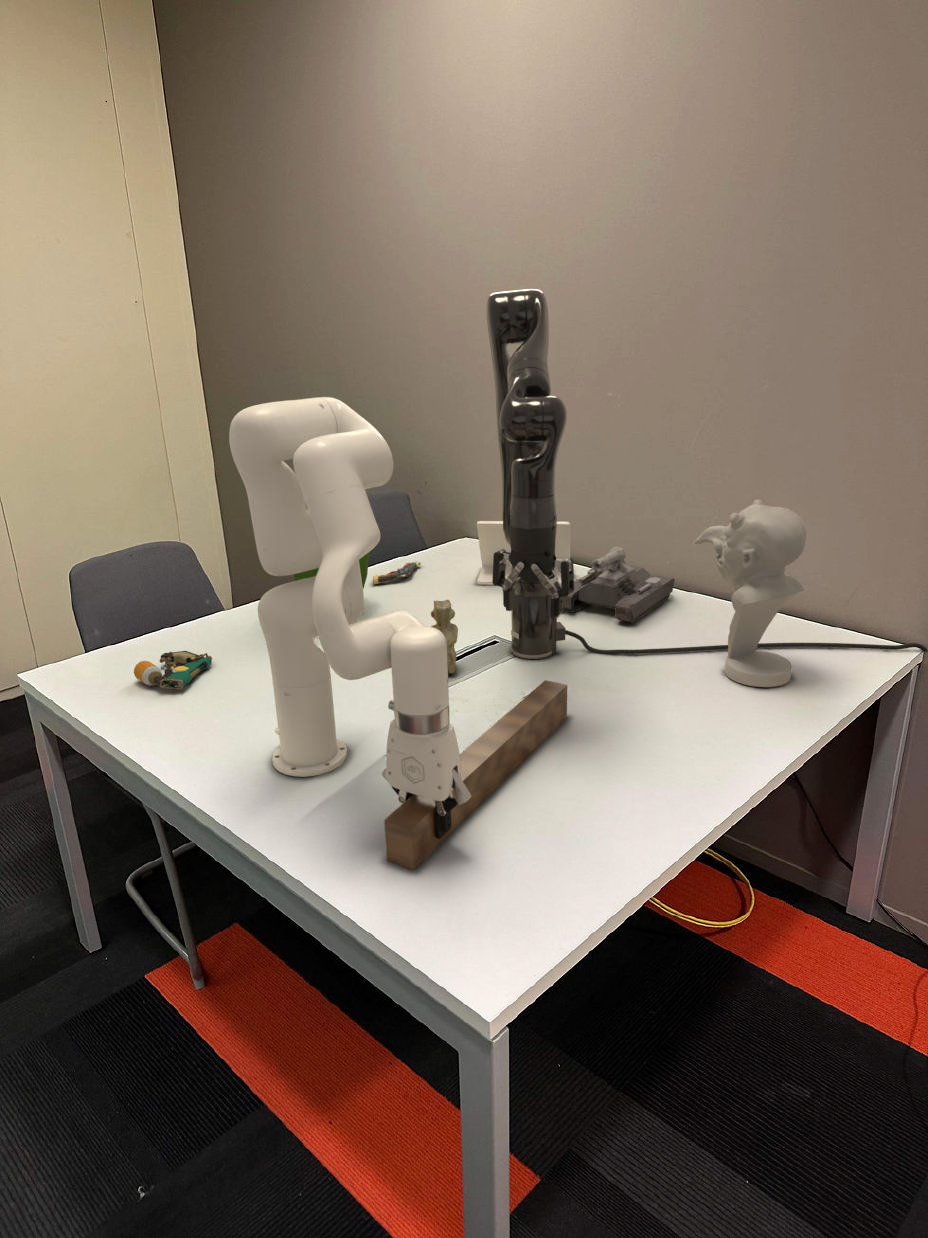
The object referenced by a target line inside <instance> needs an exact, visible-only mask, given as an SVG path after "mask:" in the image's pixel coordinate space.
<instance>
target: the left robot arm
mask: <svg viewBox="0 0 928 1238" xmlns="http://www.w3.org/2000/svg"><path fill="white" fill-rule="evenodd" d="M228 433H229V434H228V437H229V438H228V440H229V448H230V453H231V456H232V459H233V463H234V464H235V467H236V469H237V471H238V474H239V475H240V478H241V481H242V482H243V485H244V487H245V491H246V495H247V500H248V501H247V502H248V506H249V513H250V518H251V523H252V524H251V525H252V530H253V536H254V541H255V546H256V551H257V556H258V560H259V563H260V566H261V568H262V569H263V570H264V571H265V572H266V573H267V574H268V575H269V576H273V577H286V576H293V575H294V574H297V573H301V572H305V571H309V570H313V569H317V568H319V570H318V573H317V575H316V576H314V577H310V578H305V579H301V580H297V581H295V580H293V581H289V582H286V583H283V584H280V585H277V586H275V587H273V588H271V589H268V591H266V592H265V593H264V594H263V595H262V596H261V598H260V600H259V601H258V604H257V616H258V621H259V624H260V627H261V630H262V633H263V637H264V641H265V643H266V648H267V652H268V657H269V664H270V673H271V680H272V687H273V697H274V703H275V704H274V706H275V712H276V721H277V727H276V728H275V730H274V732H275V734H276V735H277V736H278V739H279V746H278V747H277V748H276V749H275V750H274V751H273V753H272V758H271V759H272V764H273V767H274V768H275V770H276V771H278V772H280V773H281V774H284V775H287V776H291V777H297V778H298V777H299V778H303V777H304V778H305V777H306V778H307V777H315V776H320V775H323V774H327V773H330V772H332V771H334V770H336V769H337V768H339V767H340V766H342V764H343V763H344V762H346V759H347V757H348V751H347V750H348V749H347V746H346V744H345V743H344V742H343V741H341V740H340V739H339V738H337V728H336V717H335V709H334V708H335V707H334V706H335V705H334V696H333V695H334V694H333V684H332V675H331V669H332V670H333V672H334V673H335V674H336V675H337V676H339V677H340V678H342V679H344V680H348V681H355V680H360V679H363V678H367V677H369V676H372V675H374V674H377V673H380V672H383V671H386V670H388V669H391V680H392V681H391V682H392V697H393V698H392V699H390V700H389V702H388V705H387V707H388V710H390V711H393V715H394V716H393V718H394V719H393V720H391V721H390V723H389V728H388V734H387V741H386V754H385V755H386V756H385V760H386V761H385V768H384V769H383V770H382V772H381V776H382V777H383V778H384V780H385V781H386V782H387V783H388V784H389V785H390V787H391V788H392V790H393V791H394V792H395V793H396V795H397V800H398V802H399V803H400V804H401V805H402V804H403V803H404V802H405V801H406V800H408V799H409V798H410V797H411V796H412V795H413V794H415V795H418V796H422V797H425V798H428V799H431V800H434V801H435V805H436V808H437V813H436V814H435V815H434V822H435V837H436V838H438V839H441V838H442V837H443V836H444V835H445V834H446V833H447V832H448V831H449V830H450V829H451V826H452V822H451V810H452V809H453V808H454V807H456V806H458V805H460V804H463V803H465V802H467V801H468V800H469V799H470V798H471V794H470V792H469V791H468V789H467V787H466V786H465V784H464V783H463V781H462V779H461V766H460V756H459V755H460V750H459V745H458V744H459V743H458V740H457V734H456V731H455V727H454V724H452V723H450V721H451V720H450V695H449V693H450V691H449V673H448V665H447V643H446V638H445V636H444V634H443V633H442V632H441V631H439V630H438V629H436V628H433V627H431V626H427V625H425V624H424V623H423V622H421V620H419V618H418V617H416V616H415V615H414V614H412V613H411V612H409V611H407V610H402V609H401V610H400V609H399V610H392V611H389V612H385V613H382V614H379V615H375V616H371V617H369V618H365V619H361V618H362V616H363V614H364V610H365V596H364V589H363V586H362V579H361V572H360V564H359V559H361V558H362V557H363V556H364V555H366V554H367V553H368V552H369V553H370V552H371V551H372V550H373V549H375V547H376V546H377V545H378V544H379V543H380V540H381V532H380V528H379V526H378V523H377V521H376V517H375V515H374V511H373V509H372V507H371V503H370V500H369V496H368V494H367V491H366V490H368V489H374V488H379V487H381V486H384V485H386V484H388V482H389V481H390V480H391V478H392V477H393V474H394V465H395V464H394V458H393V454H392V453H393V452H392V450H391V448H390V447H389V444H388V442H387V441H386V440H385V438H384V437H383V435H382V434H381V433H380V431H379V430H378V429H377V428H376V427H374V425H372V424H371V423H370V422H369V421H368V420H366V419H365V418H364V417H363V416H361V415H360V414H359V413H357V412H356V411H355V410H354V409H352V408H351V407H350V406H348V405H347V404H346V403H345V402H343V401H342V400H340V399H337V398H335V397H330V396H320V397H319V396H318V397H311V398H300V399H288V400H280V401H278V400H277V401H271V402H270V401H269V402H265V403H260V404H254V405H252V406H248V407H246V408H244V409H241V410H240V411H239V412H237V413H236V414H235V415H234V417H233V418H232V420H231V422H230V425H229V432H228ZM288 460H292V464H293V469H292V468H291V467H290V466H289V465H288V464H287V463H286V462H285V461H288ZM316 638H318V639H319V642H320V645H321V648H322V649H321V648H320V647H319V646H318V645H317V644H316V643H315V640H316ZM452 788H453V790H454V791H455V793H456V795H454V796H453V795H452V792H451V789H452ZM444 800H445V803H444Z"/></svg>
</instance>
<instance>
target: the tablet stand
mask: <svg viewBox="0 0 928 1238" xmlns="http://www.w3.org/2000/svg"><path fill="white" fill-rule="evenodd" d="M476 531H477V537H478V544H479V551H480V557H481V558H480V559H481V570H480V573H479V575H478V577H477V580H476V581H477V582H476V584H478V585H484V586H485V585H486V586H487V585H489V586H490V585H491V586H495V585H494V584H493V582H492V580H493V556H494V553H495V552H497V551H499V550H501V549H505V550H506V552H509V553H510V552H511V547H510V544H508V543H507V542H506V540H505V537H504V531H503V520H477V522H476ZM555 556H556V558H557V559H565V560H566V559H568V558H571V522H569V521H557V529H556V543H555ZM511 567H512V565H511V563H510V561H509V560H508V562H507V563H506V573H505V578H506V579H507V577H508V576H509V575H510V573H511ZM554 572H555V574H556V575H557V577H558V579H559V583H560V584H561V573H560V572H559V571H558V567H557V566H555V568H554Z"/></svg>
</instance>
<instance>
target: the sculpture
mask: <svg viewBox="0 0 928 1238" xmlns="http://www.w3.org/2000/svg"><path fill="white" fill-rule="evenodd" d="M455 615H456V611H455V609H453V608H452V602H451V601H450V599H445V600H433V610H431V612H430V617H431V618H432V619H433V620H434V621H435V622H436V623H435V624H433V625H431V626H430V627H433V628H436V629H438V630H439V631H441V632H442V633H443V634H444V636H445V638H446V643H447V665H448V675H449V674H455V673H456V666H457V665H456V663H457V652H456V649H455V644H456V643H457V642H458V637H459V635H458V634H459V627H458V626H457V624H455V623H453V622H451V621H452V620H453V619H454V618H455Z"/></svg>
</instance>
